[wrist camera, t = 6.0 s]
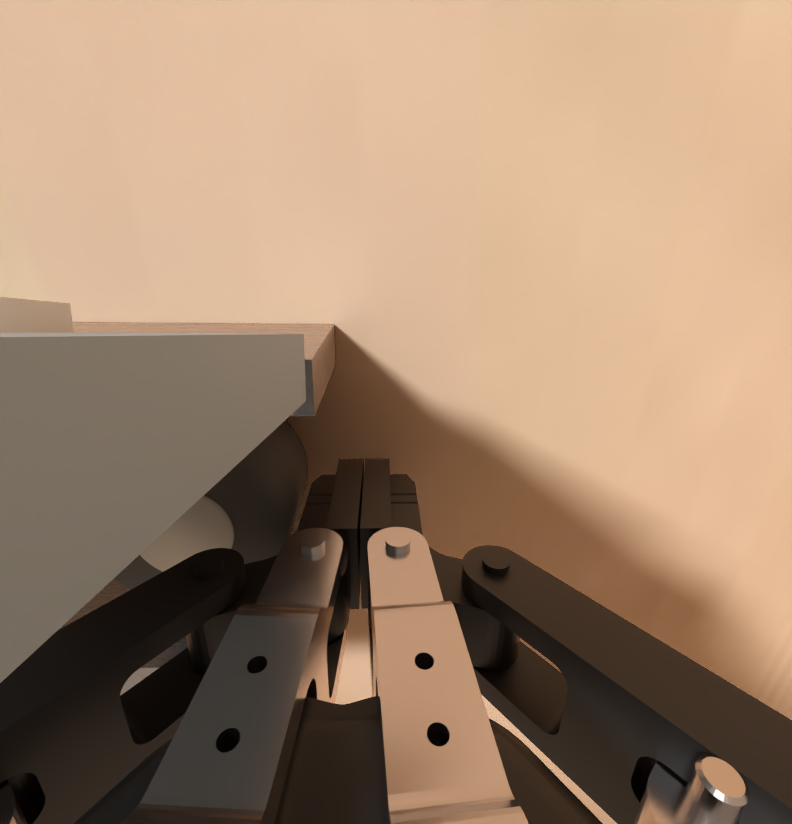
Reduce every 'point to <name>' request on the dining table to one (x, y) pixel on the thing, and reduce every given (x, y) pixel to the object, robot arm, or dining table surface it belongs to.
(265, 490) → the dark grey tape roll
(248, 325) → the grey rectangular box
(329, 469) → the dining table surface
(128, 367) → the cover
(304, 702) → the robot arm
